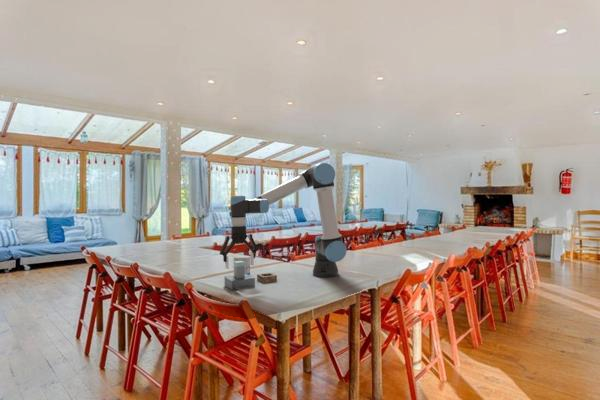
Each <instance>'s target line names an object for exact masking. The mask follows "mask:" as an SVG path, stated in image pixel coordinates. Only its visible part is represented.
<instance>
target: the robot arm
mask: <svg viewBox="0 0 600 400" xmlns="http://www.w3.org/2000/svg"><path fill="white" fill-rule="evenodd" d="M335 179H336V170H335V168H334V167H333V166H332V165H331V164H330V163H327V162H318V163H316V164H313V165H311V166H310V167H309V168H307V169H305V170H303V171H302V172H300V173H299V174H298V176H296V177H294V178H292V179H290V180H288V181H286V182H284V183H282V184H280V185H278V186H275V187H274V188H272V189H270V190H267V191H265V192H264V193H262V194H260V195H258V196H255V197H254V198H251V199H250V198H248V199H247V198H246V196H245V195H232V196H231V197H230V218H231V219H230V223H231V224H230V225H231V228H230V231H231V235H225V236H224V237H225V238H224V242H223V244H222V246H221V249H220V252H219V255H222V256H223V262H224V264H225V266H224V267H225V269H229V255H228V254H229V253H230V251H231V250H232V249H233V247H234V246H235V245H239V244H244V245H245V246H246V247H247V248H248V249H249V250H250V252H249V255H250V256H249V257H250V266H254V265H255V264H254V263H255V261H254V259H256V252H258V251H259V247H258V246H257V244H256V242H255V240H254V237H253V234H252V233H248V234H247V226H246V225H247V214H248V215H249V214H267V213H269V211H270V206H271V205H274V204H275V203H277V202H279V201H281V200H284V199H285V198H287V197H290V196H291V195H293V194H295V193H297V192H299V191H301V190H303V189H306V190H307V189H309V188H311V187H312V189H313V190H314V191H315V192H316V195H317V196H316V197H317V203H318V210H319V217H320V224H321V230H322V235H317V236H315V240H314V244H315V245H314V246H315V249H314V250H315V262H314V264H313V270H312V276H314V277H319V278H332V277H336V276H338V275H339V270H338V265H337V262H340V261H342V260H343V259H344V258H345V257H346V255H347V250H348V249H347V245H345V243H344V242H343V235H342V234H341V233H340V232H339V227H338V221H337V220H338V219H337V214H336V207H335V200H334V195H333V193H334V192H333V189H334V187H335V182H334V181H335ZM247 239H248V240H249V241H250V243H251V244H250V243H249V242H248V241H247ZM230 240H231V242H230V243H229V241H230ZM228 244H229V245H228Z"/></svg>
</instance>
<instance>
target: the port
mask: <svg viewBox="0 0 600 400" xmlns="http://www.w3.org/2000/svg"><path fill="white" fill-rule="evenodd" d="M244 275H245V278H239V279H235V278H234V274H233V275H232V274H231V275H224V287H225V288H227V289H229V290H230V291H231V292H236V291H238V290H239V289H243V288H249V287H250V288H251V287H255V286H256V283H255V282H256V281H255V280H256V279H255V277H254V276H252V275H251V274H250V275H248V274H244Z"/></svg>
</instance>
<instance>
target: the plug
mask: <svg viewBox="0 0 600 400" xmlns="http://www.w3.org/2000/svg"><path fill="white" fill-rule="evenodd" d="M233 275H234V278H235V279H239V278H245V275H244V262H243V261H234V260H233Z"/></svg>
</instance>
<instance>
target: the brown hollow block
mask: <svg viewBox="0 0 600 400" xmlns="http://www.w3.org/2000/svg"><path fill="white" fill-rule="evenodd" d="M256 280H257V281H259V282H261V284H266V283H272V282H277V281H278V275H277V274H274V273H272V272H265V273H257V274H256Z"/></svg>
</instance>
